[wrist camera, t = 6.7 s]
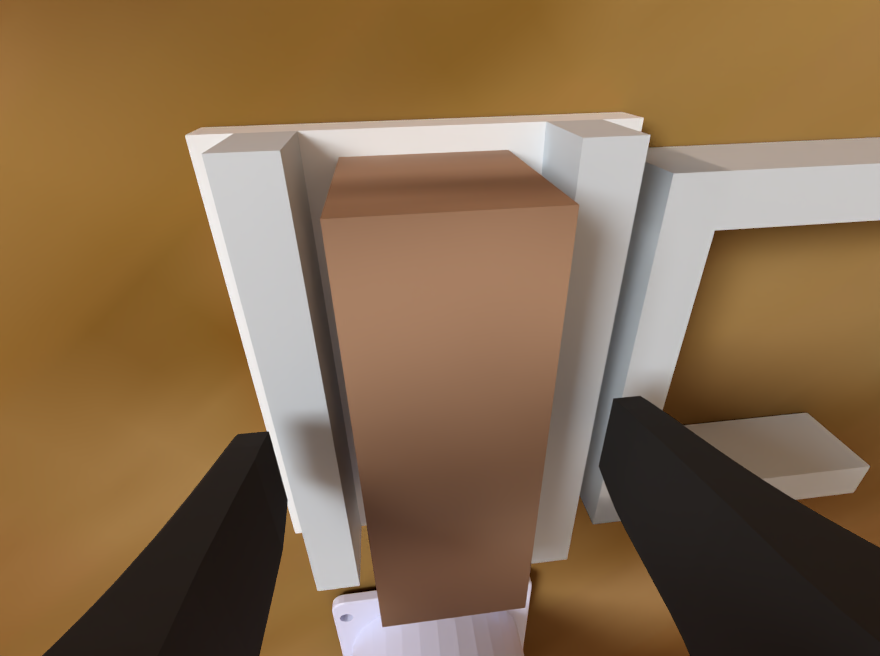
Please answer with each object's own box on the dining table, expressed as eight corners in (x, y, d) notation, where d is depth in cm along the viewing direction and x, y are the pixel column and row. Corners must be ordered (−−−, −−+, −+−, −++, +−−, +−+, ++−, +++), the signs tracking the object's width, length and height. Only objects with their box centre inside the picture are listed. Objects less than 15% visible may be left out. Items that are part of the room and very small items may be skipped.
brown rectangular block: (339, 157, 10) (320, 219, 6) (508, 149, 10) (579, 205, 6) (380, 492, 15) (382, 627, 11) (490, 480, 15) (524, 607, 12)
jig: (786, 453, 18) (856, 522, 15) (299, 507, 16) (285, 595, 14) (963, 99, 12) (1129, 115, 9) (201, 127, 10) (141, 156, 7)
